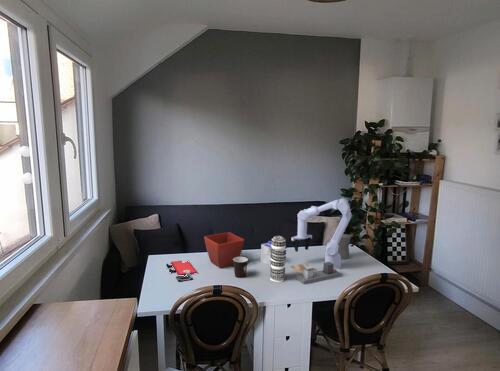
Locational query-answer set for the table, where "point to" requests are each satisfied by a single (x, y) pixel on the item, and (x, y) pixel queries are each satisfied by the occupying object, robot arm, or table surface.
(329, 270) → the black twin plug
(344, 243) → the coffeepot
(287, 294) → the table surface
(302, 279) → the power strip
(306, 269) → the grey plug
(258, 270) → the table surface
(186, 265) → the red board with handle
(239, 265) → the coffee mug
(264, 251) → the ink cartridge box
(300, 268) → the cork mat
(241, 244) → the plant pot
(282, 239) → the decorative candle
